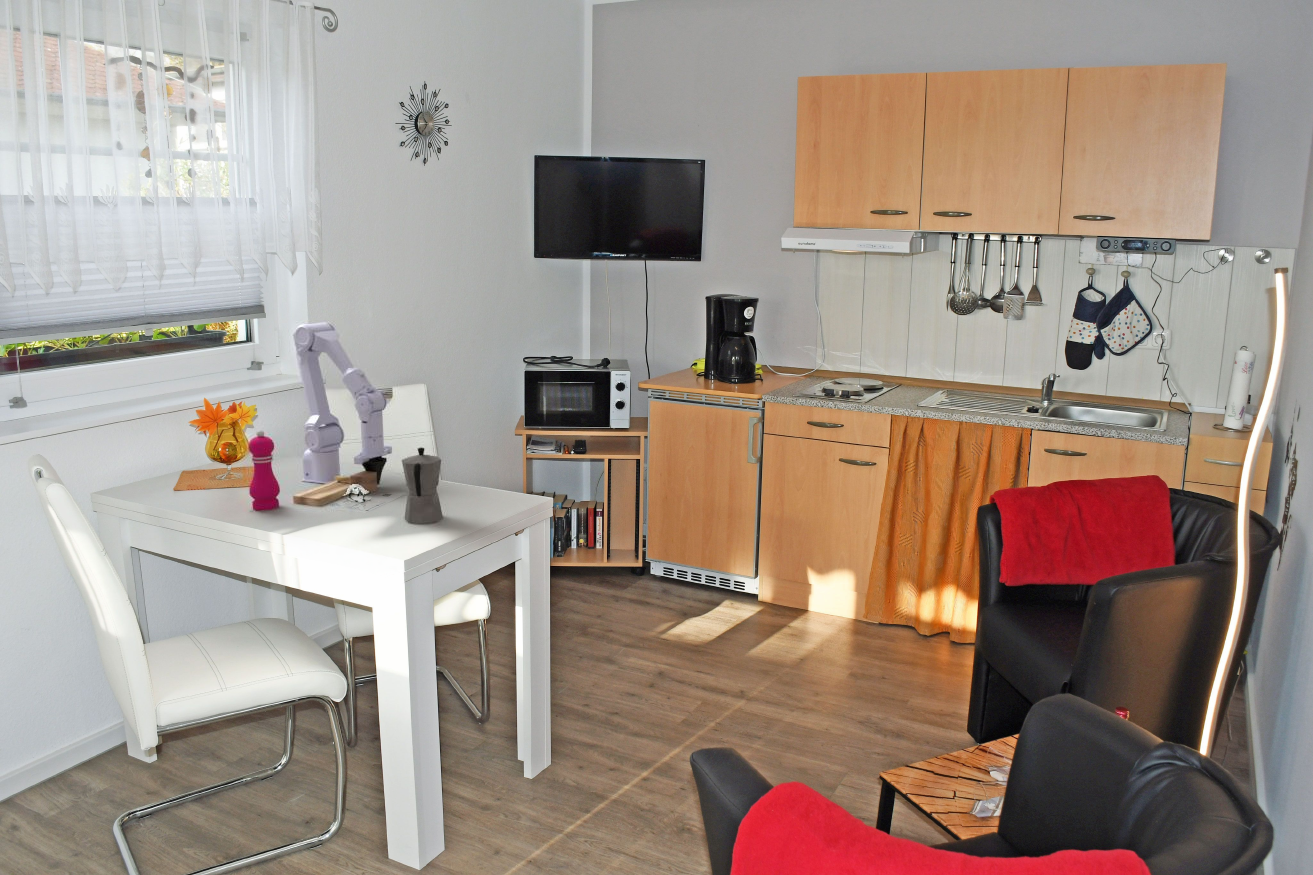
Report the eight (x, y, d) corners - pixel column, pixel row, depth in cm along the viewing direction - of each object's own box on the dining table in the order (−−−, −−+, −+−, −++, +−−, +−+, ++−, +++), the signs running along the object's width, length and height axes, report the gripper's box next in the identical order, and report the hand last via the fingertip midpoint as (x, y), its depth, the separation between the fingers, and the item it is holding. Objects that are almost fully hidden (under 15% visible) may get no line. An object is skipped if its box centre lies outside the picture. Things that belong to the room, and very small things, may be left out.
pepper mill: (270, 512, 244) (264, 433, 240) (244, 510, 246) (238, 432, 242) (286, 504, 251) (281, 428, 247) (261, 502, 253) (255, 426, 249)
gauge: (329, 491, 264) (328, 473, 263) (343, 486, 269) (342, 468, 268) (363, 495, 260) (362, 477, 259) (377, 489, 266) (376, 472, 265)
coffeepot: (408, 511, 246) (405, 441, 242) (446, 511, 247) (443, 441, 243) (398, 530, 231) (395, 456, 227) (439, 529, 232) (436, 455, 228)
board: (293, 503, 252) (292, 495, 252) (344, 483, 272) (344, 476, 271) (319, 506, 250) (318, 498, 249) (369, 486, 269) (368, 479, 269)
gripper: (368, 442, 257) (371, 492, 260) (400, 431, 270) (402, 479, 273) (346, 440, 259) (349, 489, 262) (378, 429, 273) (381, 477, 275)
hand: (374, 484), depth 268 cm, fingers closed
